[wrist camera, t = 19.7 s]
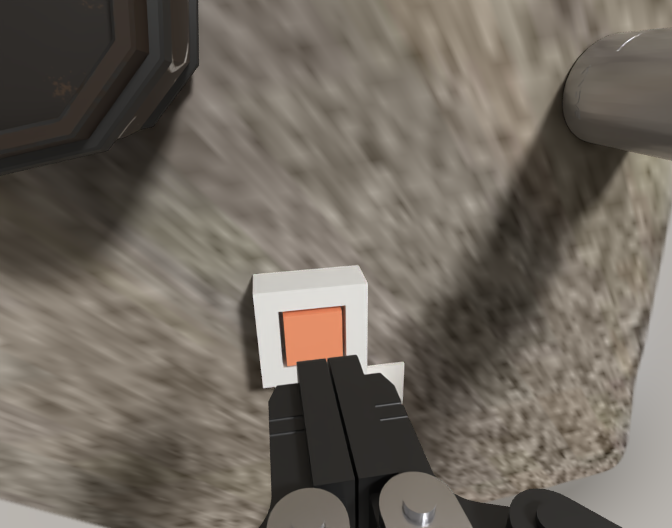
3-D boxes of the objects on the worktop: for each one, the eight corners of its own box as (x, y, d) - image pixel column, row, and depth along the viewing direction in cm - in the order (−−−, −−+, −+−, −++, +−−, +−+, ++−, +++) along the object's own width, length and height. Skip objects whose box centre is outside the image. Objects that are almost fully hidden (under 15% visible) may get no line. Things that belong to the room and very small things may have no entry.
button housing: (358, 265, 42) (367, 283, 39) (358, 351, 46) (367, 375, 43) (253, 274, 41) (252, 293, 37) (262, 362, 45) (263, 388, 41)
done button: (336, 295, 42) (341, 311, 39) (337, 341, 44) (342, 359, 41) (281, 301, 41) (283, 317, 38) (285, 347, 43) (287, 366, 40)
